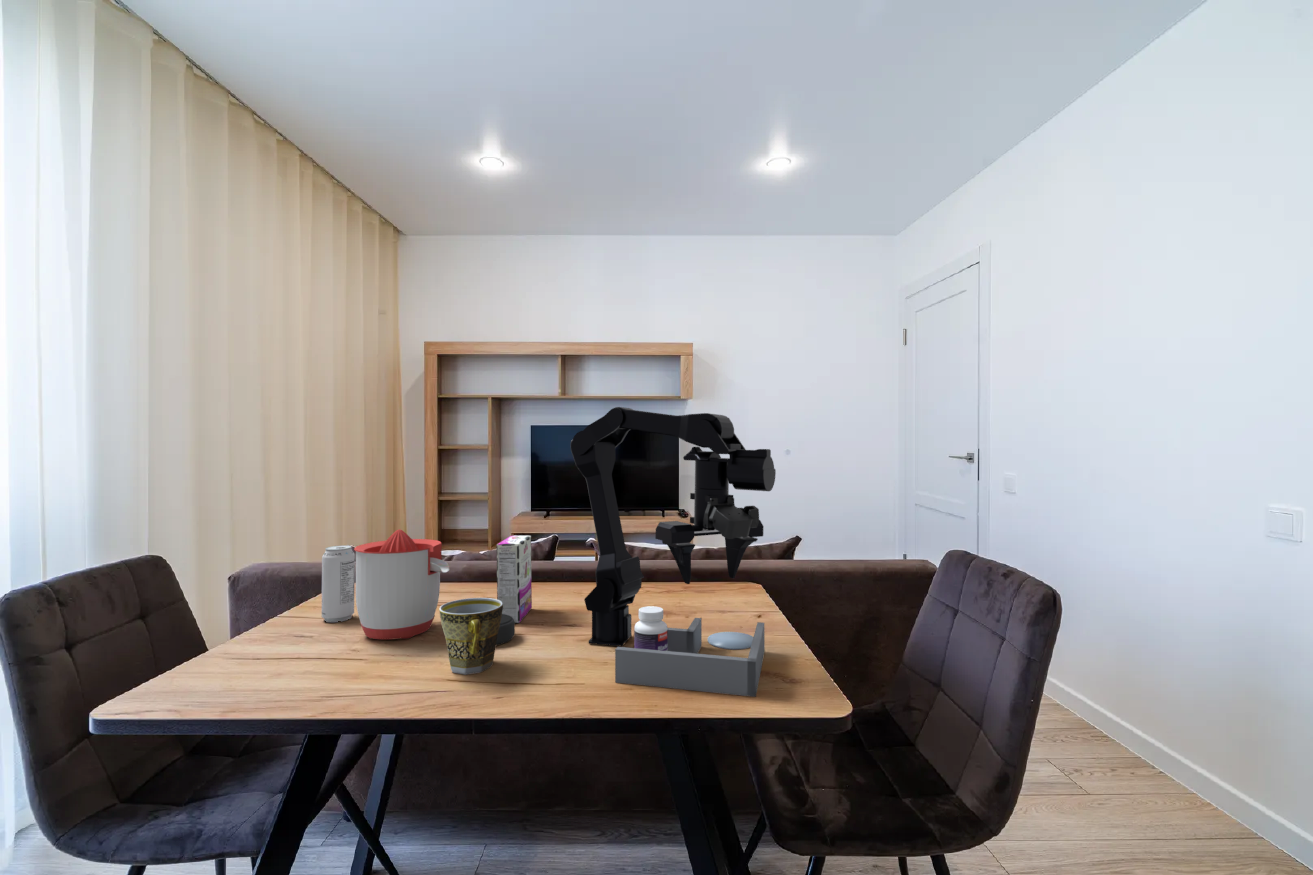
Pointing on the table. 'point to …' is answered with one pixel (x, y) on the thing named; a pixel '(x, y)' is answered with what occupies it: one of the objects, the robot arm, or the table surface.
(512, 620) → the smart speaker
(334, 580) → the energy drink can
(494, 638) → the ceramic cup
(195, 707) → the table surface
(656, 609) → the pill bottle
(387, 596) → the citrus juicer
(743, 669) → the channel
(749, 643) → the pad
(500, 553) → the candy bar box
